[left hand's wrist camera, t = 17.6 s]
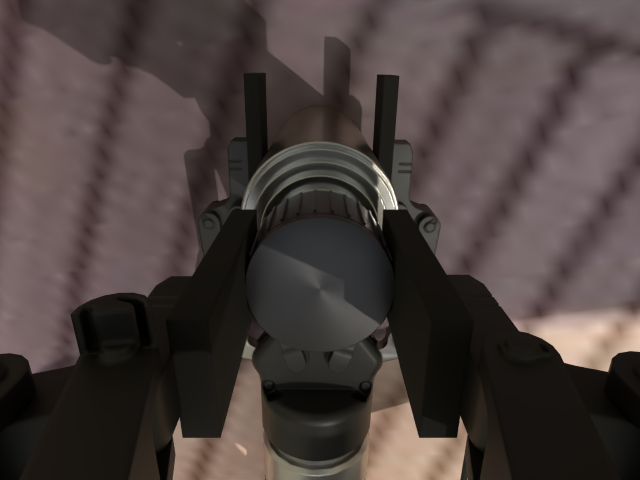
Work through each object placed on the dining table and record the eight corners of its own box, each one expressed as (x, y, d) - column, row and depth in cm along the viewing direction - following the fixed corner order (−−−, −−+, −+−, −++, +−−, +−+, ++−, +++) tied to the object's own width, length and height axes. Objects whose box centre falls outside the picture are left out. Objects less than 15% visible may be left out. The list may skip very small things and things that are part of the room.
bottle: (358, 196, 32) (411, 377, 14) (274, 190, 32) (210, 364, 13) (368, 109, 30) (449, 182, 11) (278, 102, 30) (208, 163, 11)
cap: (375, 177, 13) (387, 202, 11) (391, 296, 15) (405, 342, 12) (241, 200, 14) (224, 230, 11) (271, 315, 15) (261, 364, 13)
